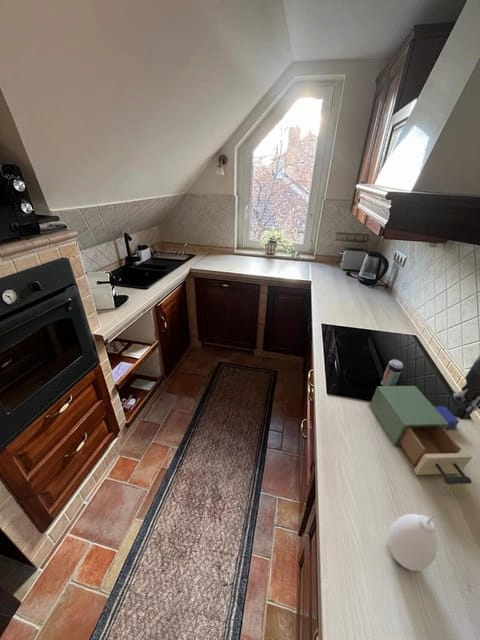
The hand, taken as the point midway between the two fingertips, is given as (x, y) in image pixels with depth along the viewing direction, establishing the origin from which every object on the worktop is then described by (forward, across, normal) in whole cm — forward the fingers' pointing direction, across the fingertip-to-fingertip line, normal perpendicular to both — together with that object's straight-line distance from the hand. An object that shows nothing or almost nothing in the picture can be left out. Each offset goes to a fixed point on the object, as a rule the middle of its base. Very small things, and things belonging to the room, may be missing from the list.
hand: (461, 416), depth 74 cm
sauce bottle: (+13, -30, -26) cm, 42 cm away
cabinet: (+13, -9, +8) cm, 18 cm away
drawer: (+12, -9, -5) cm, 16 cm away
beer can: (+13, -3, +26) cm, 29 cm away
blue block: (+13, +6, +9) cm, 17 cm away
